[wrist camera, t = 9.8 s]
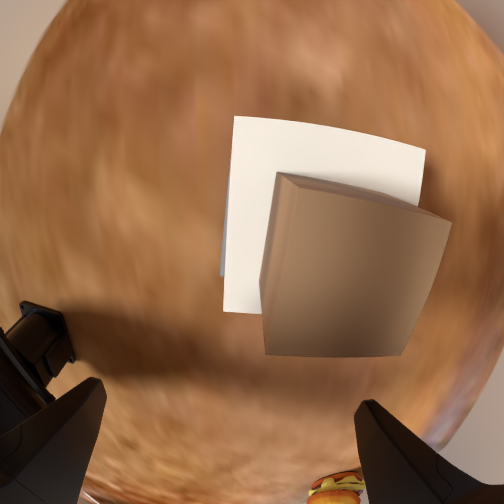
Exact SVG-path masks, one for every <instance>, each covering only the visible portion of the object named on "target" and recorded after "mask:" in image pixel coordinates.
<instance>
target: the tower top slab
mask: <svg viewBox="0 0 504 504" xmlns="http://www.w3.org/2000/svg"><path fill="white" fill-rule="evenodd" d="M425 151H426V150H424V149H421V148H418V147H415V146H411V145H408V144H404V143H401V142H397V141H393V140H389V139H385V138H381V137H377V136H373V135H369V134H364V133H360V132H355V131H350V130H345V129H340V128H334V127H328V126H322V125H316V124H310V123H303V122H295V121H287V120H278V119H268V118H256V117H242V116H234V129H233V141H232V155H231V169H230V184H229V200H228V217H227V236H226V256H225V279H224V306H223V311H226V312H240V313H255V314H262V311H261V301H260V290H259V277H260V271H261V265H262V259H263V253H264V246H265V240H266V234H267V228H268V222H269V216H270V209H271V203H272V197H273V190H274V184H275V177H276V172H282V173H288V174H294V175H300V176H306V177H312V178H317V179H322V180H327V181H332V182H337V183H342V184H347V185H351V186H356V187H360V188H365V189H369V190H373V191H378V192H382V193H385V194H387V195H390V196H393V197H395V198H398V199H400V200H403V201H405V202H408V203H410V204H413V205H415V206H417V207H418V203H419V197H420V191H421V184H422V177H423V169H424V161H425Z"/></svg>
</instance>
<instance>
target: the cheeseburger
mask: <svg viewBox="0 0 504 504" xmlns="http://www.w3.org/2000/svg"><path fill="white" fill-rule="evenodd" d="M364 489H365V482H364V481H363V482H362V478H361V476H360V475H359V474H358V473H354V472H345V473H339V474H335V475H331V476H328V477H325V478H322V479H320V480H319V481H317V482H315V483H314V484H313V485H312V489H310V490H309V495H310V497H309V498H308V499H307V504H360V501H361V500H360V498H359V496H360V494H361V493H362V492H363V490H364Z"/></svg>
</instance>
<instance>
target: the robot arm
mask: <svg viewBox="0 0 504 504" xmlns="http://www.w3.org/2000/svg"><path fill="white" fill-rule="evenodd" d="M19 305H20V309H21V312H22V317H21V318H20V319H19V320H18V321H17V322H16V323H15V324H14V325H13V326H12V327H11V328H10V329H9V330H8V331H7V332H6V333H5V334H4V331H3V329H2V327H0V504H77V501H78V497H79V494H80V490H81V487H82V483H83V480H84V477H85V473H86V470H87V467H88V464H89V461H90V458H91V455H92V452H93V449H94V446H95V443H96V440H97V437H98V434H99V430H100V425H101V421H102V416H103V412H104V408H105V404H106V400H107V394H106V391H105V388H104V385H103V383H102V381H101V379H98V378H95V377H89V378H87V379H86V380H84V381H83V382H81V383H80V384H79V385H77V386H76V387H74V388H73V389H71V390H70V391H68V392H67V393H65V394H64V395H63V396H61V397H60V398H58V399H57V400H55V399H56V398H55V397H54V396H53V395H52V394H50V392H49V391H48V390H47V389H46V387H47V385H48V384H49V382H50V381H51V379H52V378H53V377H54V378H56V377H57V376H58V374H59V373H60V371H61V370H62V368H63V367H64V365H65V364H66V363H67V362H69V363H72V364H73V363H74V362H75V361H76V358H75V355H74V352H73V349H72V346H71V343H70V340H69V336H68V333H67V329H66V325H65V322H64V318H63V316H62V314H61V313H59V312H55V311H52V310H49V309H45V308H42V307H39V306H36V305H33V304H30V303H27V302H24V301H22V302H21V303H20V304H19ZM354 423H355V430H356V439H357V447H358V454H359V459H360V463H361V467H362V472H363V476H364V481H365V485H366V490H367V494H368V499H369V504H504V485H503V484H502V485H488V484H484V483H482V482H480V481H478V480H476V479H475V478H473V477H471V476H470V475H468V474H466V473H464V472H463V471H461V470H459V469H458V468H457V467H455V466H453V465H452V464H451V463H449V462H448V461H447V460H446V459H444V458H443V457H442V456H440V455H439V454H438V453H437V454H436V451H434V450H433V449H432V448H431V447H429V446H428V445H427V444H426V443H425V442H423V441H422V440H421V439H420V438H419V437H417V436H416V435H415V434H414V433H413V432H412V431H410V430H409V429H408V428H407V427H406V426H404V425H403V424H402V423H401V422H400V421H399V420H397V419H396V418H395V417H394V416H393V415H392V414H390V413H389V412H388V411H387V410H386V409H385V408H383V407H382V406H381V405H380V404H379V403H378V402H377V401H375V400H373V399H369V400H363V401H362V402H361V404H360V406H359V407H358V409H357V411H356V412H355V415H354Z"/></svg>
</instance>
